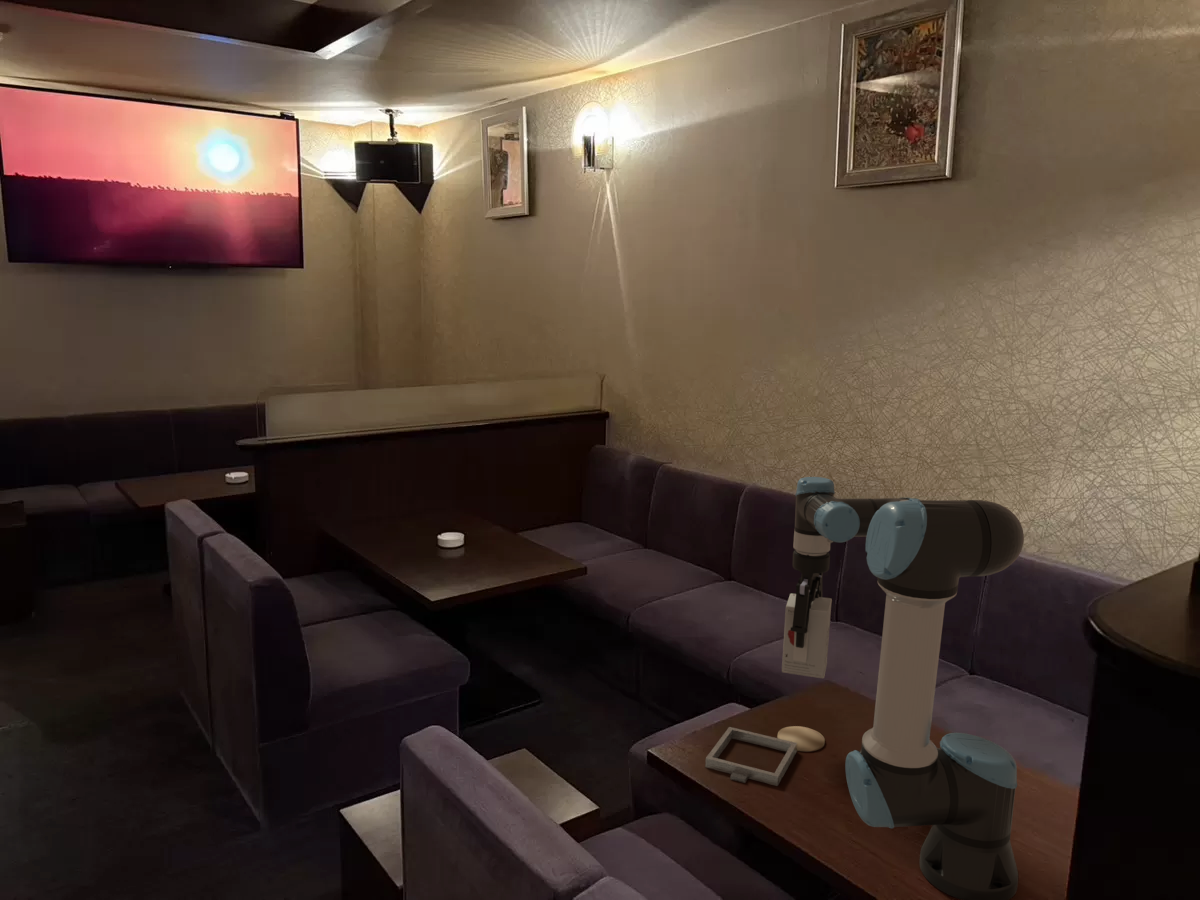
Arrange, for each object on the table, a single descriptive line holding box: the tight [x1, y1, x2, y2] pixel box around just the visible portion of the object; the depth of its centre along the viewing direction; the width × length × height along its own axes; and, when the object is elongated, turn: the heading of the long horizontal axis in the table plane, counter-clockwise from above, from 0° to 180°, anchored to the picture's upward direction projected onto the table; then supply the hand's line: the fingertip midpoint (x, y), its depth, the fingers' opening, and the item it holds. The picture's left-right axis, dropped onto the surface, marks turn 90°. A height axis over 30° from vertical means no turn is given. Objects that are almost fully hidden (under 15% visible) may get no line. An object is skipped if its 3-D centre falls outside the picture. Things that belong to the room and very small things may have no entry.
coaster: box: [776, 725, 826, 753], centre depth 190 cm, size 10×10×1 cm
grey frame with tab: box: [704, 726, 798, 787], centre depth 182 cm, size 19×15×2 cm
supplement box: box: [781, 593, 833, 679], centre depth 186 cm, size 9×9×15 cm
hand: (805, 652), depth 187 cm, fingers closed on supplement box, 9 cm apart
